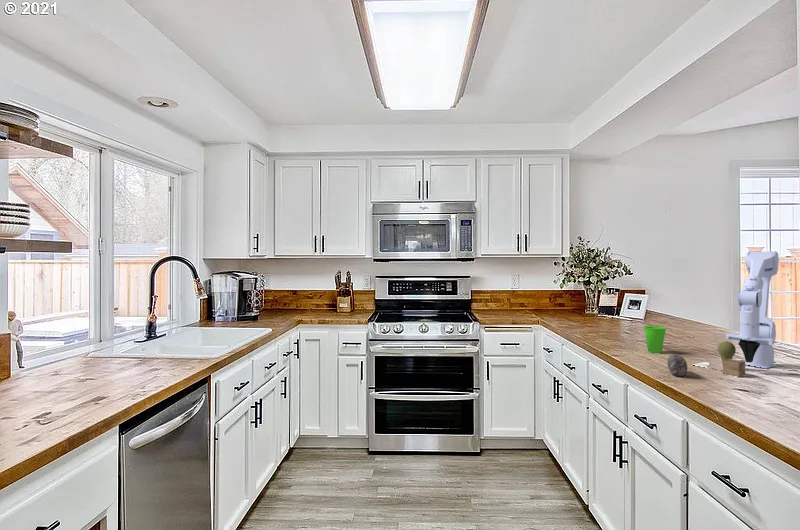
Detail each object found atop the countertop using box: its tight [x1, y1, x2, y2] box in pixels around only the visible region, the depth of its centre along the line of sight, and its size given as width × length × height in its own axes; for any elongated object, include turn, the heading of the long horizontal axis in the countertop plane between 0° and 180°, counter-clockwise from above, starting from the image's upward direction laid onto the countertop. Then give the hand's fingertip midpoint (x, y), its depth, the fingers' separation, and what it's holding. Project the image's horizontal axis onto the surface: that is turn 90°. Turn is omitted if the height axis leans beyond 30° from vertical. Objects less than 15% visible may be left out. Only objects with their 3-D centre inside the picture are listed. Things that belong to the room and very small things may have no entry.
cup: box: [643, 325, 667, 354], centre depth 211 cm, size 9×9×11 cm
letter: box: [692, 361, 710, 369], centre depth 183 cm, size 10×14×1 cm
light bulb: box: [717, 341, 737, 366], centre depth 180 cm, size 6×6×10 cm
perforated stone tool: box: [666, 353, 688, 377], centre depth 173 cm, size 15×5×7 cm, turn 159°
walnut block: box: [722, 358, 746, 378], centre depth 171 cm, size 5×5×5 cm
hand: (749, 361), depth 174 cm, fingers closed
